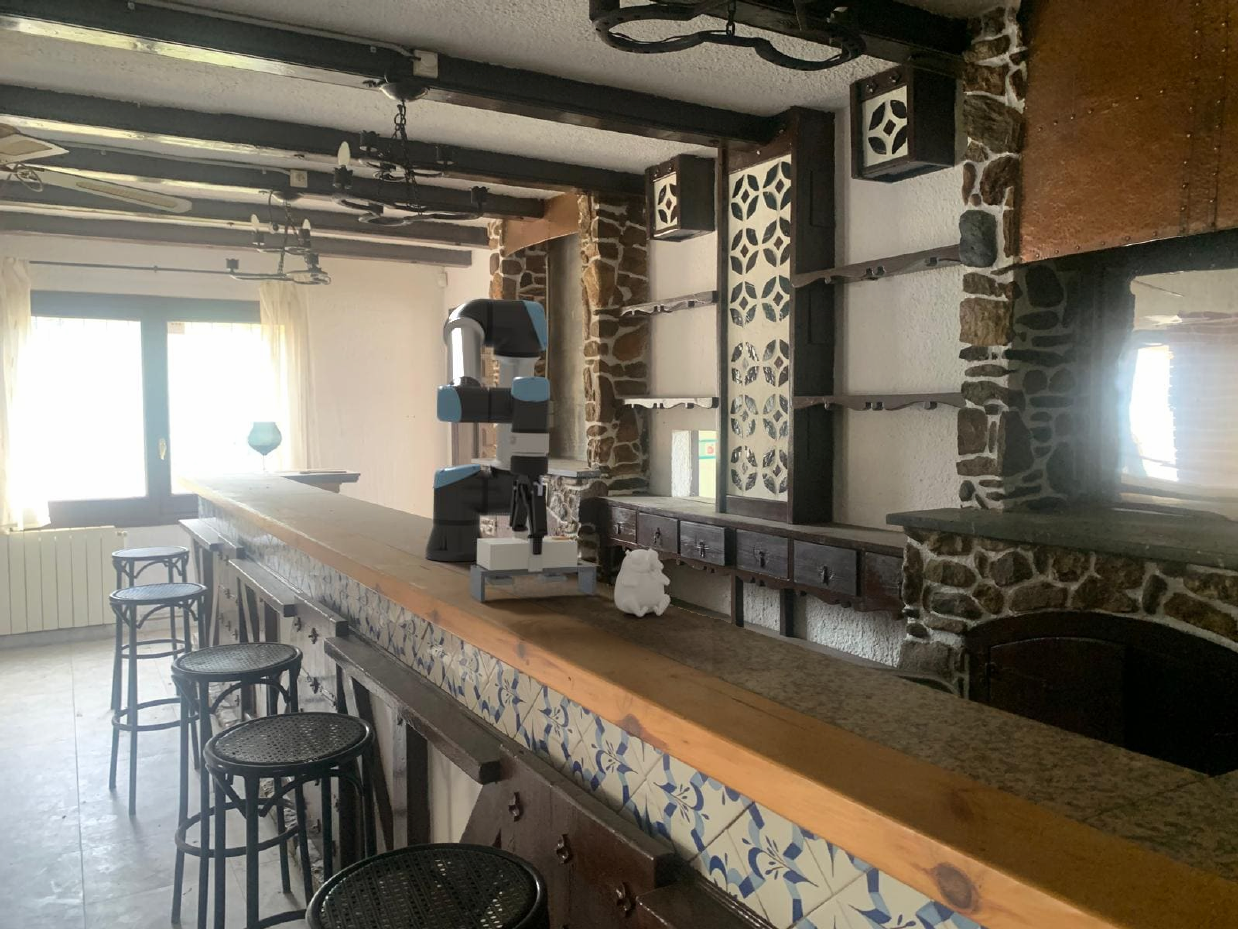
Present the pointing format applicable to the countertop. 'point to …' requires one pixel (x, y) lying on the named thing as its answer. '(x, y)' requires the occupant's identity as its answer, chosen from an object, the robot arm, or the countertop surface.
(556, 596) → the countertop surface
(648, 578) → the figurine
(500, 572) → the rail
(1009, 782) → the countertop surface
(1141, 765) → the countertop surface
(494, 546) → the white rectangular block
